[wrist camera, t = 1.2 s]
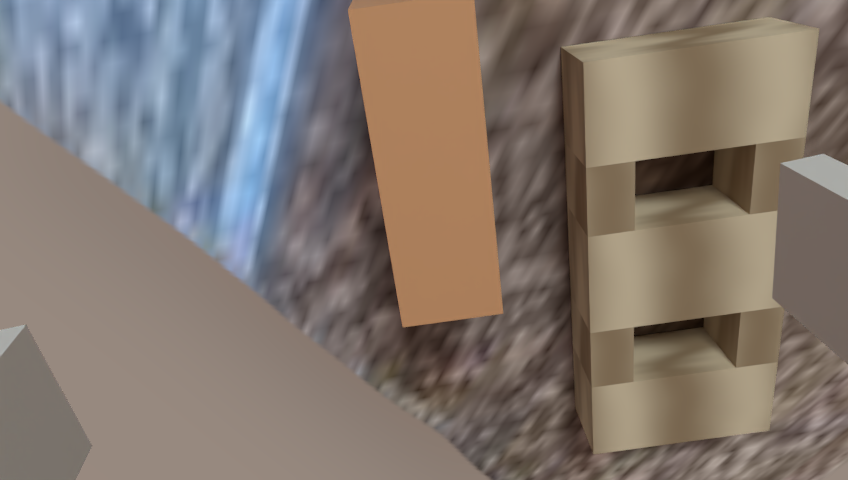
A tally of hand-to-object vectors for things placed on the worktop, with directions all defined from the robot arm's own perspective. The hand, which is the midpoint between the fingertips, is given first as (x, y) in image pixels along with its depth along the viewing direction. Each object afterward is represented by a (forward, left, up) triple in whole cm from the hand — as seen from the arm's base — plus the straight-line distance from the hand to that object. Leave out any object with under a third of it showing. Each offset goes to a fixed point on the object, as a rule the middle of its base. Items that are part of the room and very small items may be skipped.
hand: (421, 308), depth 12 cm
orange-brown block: (-1, +2, -22) cm, 22 cm away
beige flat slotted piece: (-13, +11, -22) cm, 28 cm away
